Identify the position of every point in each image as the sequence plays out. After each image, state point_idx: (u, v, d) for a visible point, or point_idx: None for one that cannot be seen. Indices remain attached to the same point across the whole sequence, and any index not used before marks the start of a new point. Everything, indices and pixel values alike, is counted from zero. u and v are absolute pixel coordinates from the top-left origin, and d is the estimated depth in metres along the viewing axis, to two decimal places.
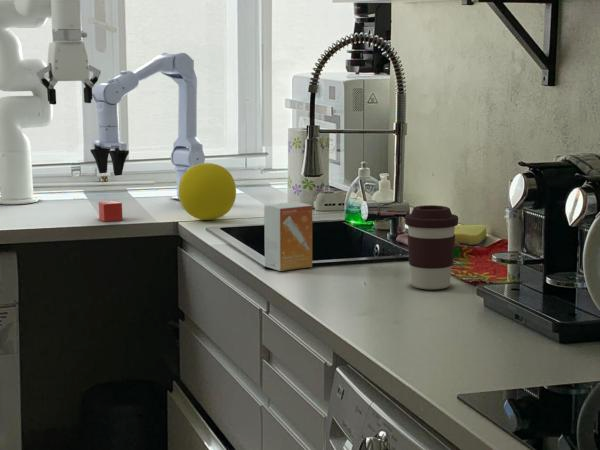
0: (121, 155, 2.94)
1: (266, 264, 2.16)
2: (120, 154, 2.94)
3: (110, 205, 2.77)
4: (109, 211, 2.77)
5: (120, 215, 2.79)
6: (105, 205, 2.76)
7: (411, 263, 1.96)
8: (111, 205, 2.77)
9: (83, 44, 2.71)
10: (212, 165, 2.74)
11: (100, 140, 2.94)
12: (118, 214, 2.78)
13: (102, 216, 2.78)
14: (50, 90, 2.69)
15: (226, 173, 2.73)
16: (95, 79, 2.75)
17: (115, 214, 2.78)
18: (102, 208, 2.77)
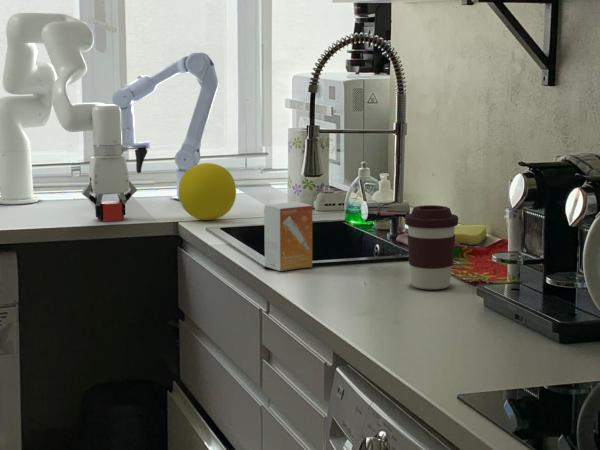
0: None
1: (266, 264, 2.16)
2: None
3: (110, 205, 2.77)
4: (109, 211, 2.77)
5: (120, 215, 2.79)
6: (105, 205, 2.76)
7: (411, 263, 1.96)
8: (111, 205, 2.77)
9: (123, 158, 2.77)
10: (212, 165, 2.74)
11: None
12: (118, 214, 2.78)
13: None
14: (97, 207, 2.77)
15: (226, 173, 2.73)
16: (128, 195, 2.80)
17: (115, 214, 2.78)
18: None
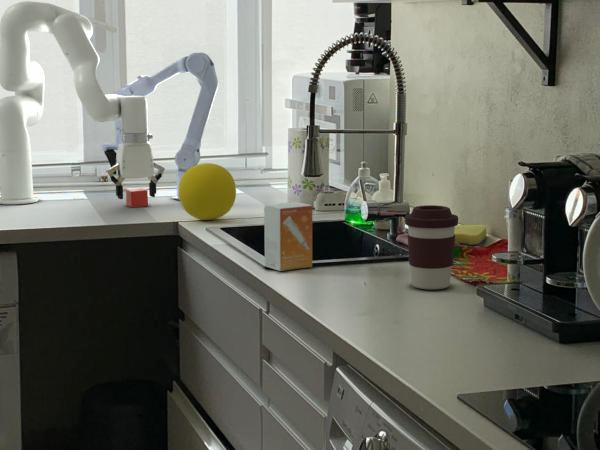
0: None
1: (266, 264, 2.16)
2: None
3: (137, 192, 3.02)
4: (135, 198, 3.02)
5: (146, 201, 3.03)
6: (132, 192, 3.01)
7: (411, 263, 1.96)
8: (138, 192, 3.02)
9: (148, 145, 3.02)
10: (212, 165, 2.74)
11: None
12: (144, 200, 3.03)
13: (129, 202, 3.03)
14: (118, 186, 3.01)
15: (226, 173, 2.73)
16: (159, 175, 3.06)
17: (141, 200, 3.03)
18: (129, 195, 3.02)
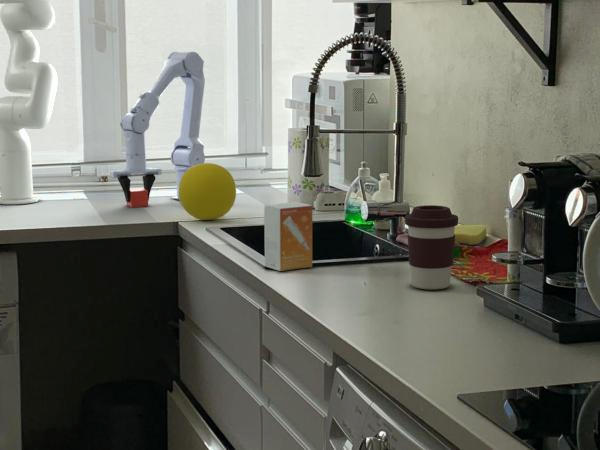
0: None
1: (266, 264, 2.16)
2: None
3: (137, 192, 3.02)
4: (136, 198, 3.02)
5: (146, 201, 3.03)
6: (132, 192, 3.01)
7: (411, 263, 1.96)
8: (138, 192, 3.02)
9: None
10: (212, 165, 2.74)
11: None
12: (144, 200, 3.03)
13: (130, 202, 3.03)
14: None
15: (226, 173, 2.73)
16: None
17: (141, 200, 3.03)
18: (130, 195, 3.02)
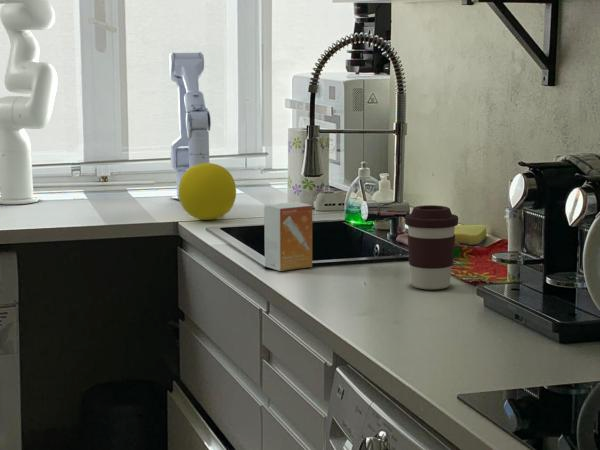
0: None
1: (266, 264, 2.16)
2: None
3: None
4: None
5: None
6: None
7: (411, 263, 1.96)
8: None
9: None
10: (212, 165, 2.74)
11: None
12: None
13: None
14: None
15: (226, 173, 2.73)
16: None
17: None
18: None
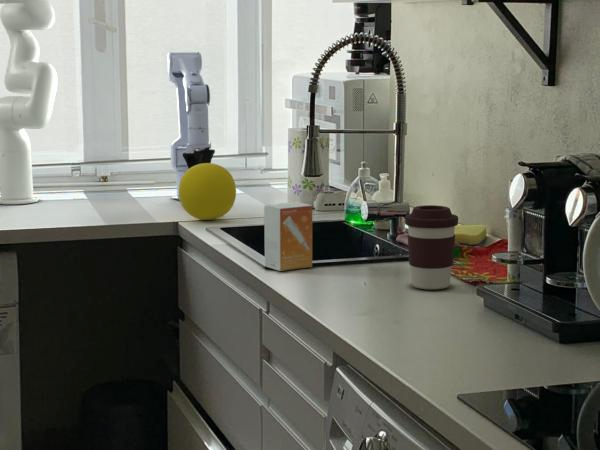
0: None
1: (266, 264, 2.16)
2: (195, 157, 2.90)
3: None
4: None
5: None
6: None
7: (411, 263, 1.96)
8: None
9: None
10: (212, 165, 2.74)
11: None
12: None
13: None
14: None
15: (226, 173, 2.73)
16: None
17: None
18: None
